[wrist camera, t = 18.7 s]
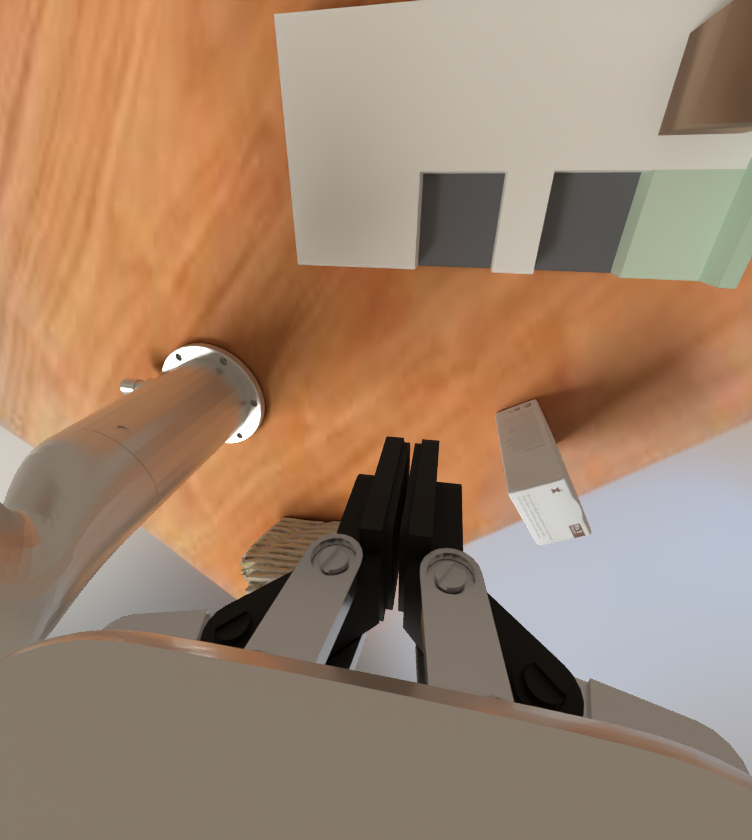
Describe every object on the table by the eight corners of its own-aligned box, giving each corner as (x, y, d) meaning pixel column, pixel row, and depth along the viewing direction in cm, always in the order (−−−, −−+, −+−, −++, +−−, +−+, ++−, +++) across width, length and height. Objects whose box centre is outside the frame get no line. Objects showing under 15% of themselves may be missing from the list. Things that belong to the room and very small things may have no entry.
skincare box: (492, 413, 37) (501, 493, 27) (538, 395, 35) (565, 474, 25) (516, 459, 39) (532, 549, 29) (560, 445, 37) (594, 536, 27)
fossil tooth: (361, 541, 53) (266, 545, 56) (351, 510, 50) (251, 516, 53) (347, 620, 43) (233, 620, 46) (333, 587, 40) (212, 590, 43)
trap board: (308, 260, 33) (285, 269, 29) (289, 29, 26) (254, -4, 22) (696, 275, 28) (735, 288, 24) (819, -16, 20) (912, -74, 16)
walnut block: (657, 135, 23) (690, 124, 19) (689, 33, 20) (733, -1, 17) (742, 133, 22) (792, 120, 18) (786, 26, 19) (851, -11, 16)
